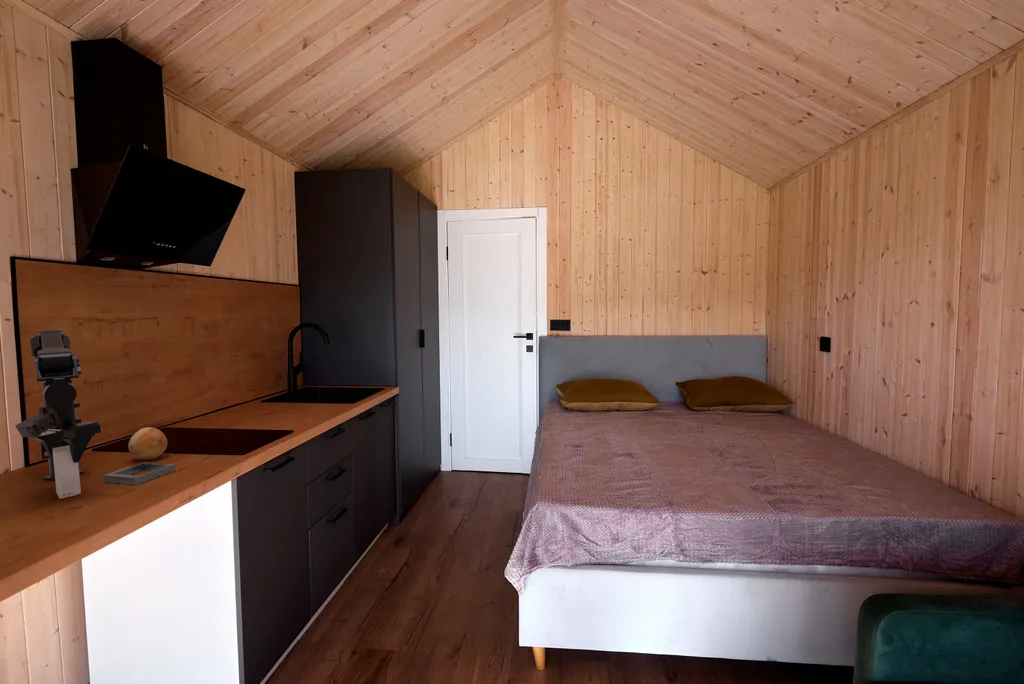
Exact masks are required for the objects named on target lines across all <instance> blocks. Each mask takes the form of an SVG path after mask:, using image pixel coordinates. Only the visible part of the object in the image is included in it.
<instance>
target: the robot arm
mask: <svg viewBox="0 0 1024 684" xmlns="http://www.w3.org/2000/svg"><path fill="white" fill-rule="evenodd" d="M29 345H30V346H29V347H30V355H31V358H34V359H33V360H34V367H35V376H36V382H38V383H39V382H42V383H43V384H42V387H41V388H42V395H43V402H44V403H43V404H44V406H39V408H38V414H36V415H34V416H31V417H29V418H27V419H25V420H23V421H21V422H19V423H17V424H16V425H15V428H16V430H17V432H18V433H19V434H20V436H21V437H22V438H30V439H34V440H36V441H38V442H40V452H41V460H47V463H48V464H47V465H48V471H49V473H48V475H45V476H43V478H46V479H45V480H53V479H55V471H54V460H53V448H57V447H63V446H69V447H70V451H71V456H72V459H73V462H74V463H77V462H78V463H79V462H80V461H81V459H82V456H83V455H84V452H85V451H86V448H87V447H88V445H89V443H90V441H91V440H92V437H94V436H96V434H99V433H102V432H103V430H102V428H103V427H102V424H101V423H100V422H98V421H88V420H87V421H83V422H82V418H77V408H80V407H81V404H80V402H76V398H77V396H78V395H77V394H78V392H77V389H76V388H75V386H74V381H73V380H72V379H79V378H80V375H81V374H82V369H81V364H80V359H79V358H78V356H77V355H76V354H73V352H72V345H71V338H70V337H69V335H65V334H63V330H61V329H46V330H45V329H44V330H43V329H42V330H39V331H37V334H36V335H35V336H34V337H32V338H30V339H29ZM83 472H84V473H85V470H81V469H79V475H81V474H83ZM80 473H81V474H80ZM43 478H42V479H43Z"/></svg>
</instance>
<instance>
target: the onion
mask: <svg viewBox="0 0 1024 684" xmlns="http://www.w3.org/2000/svg"><path fill="white" fill-rule="evenodd" d="M167 447H168V439H167V437H166V435H165V433H164V432H162V431H161V430H160V429H157V428H155V427H143V428H141V429H139V430H138V431H136V432H135V433H134V434H132V436H131V438H130V440H129V441H128V450H129V452H130V454H131V455H132V456H133V457H134V458H136V459H137V460H155V459H157V458H158V457H160V456H161V455H162V454H163V453H164V452H165V450H166V449H167Z"/></svg>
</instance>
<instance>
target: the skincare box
mask: <svg viewBox="0 0 1024 684" xmlns="http://www.w3.org/2000/svg"><path fill="white" fill-rule="evenodd" d="M53 460H54V471H55V481H54V482H55V491H56V494H57V497H58V499H60V500H61V499H65V498H69V497H70V498H71V497H74V496H79V495H81V494H82V489H81V480H80V474H79V470H80V468H79V462H77V463H74V462H73V459H72V456H71V451H70V447H69V446H63V447H57V448H53ZM78 494H79V495H78Z"/></svg>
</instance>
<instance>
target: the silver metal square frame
mask: <svg viewBox="0 0 1024 684" xmlns="http://www.w3.org/2000/svg"><path fill="white" fill-rule="evenodd" d="M141 470H152V471H147V472H146V471H145V472H144V473H141V474H138V475H134V474H132V473H135V472H138V471H141ZM174 470H175V471H176V464H175V463H167V462H166V463H163V462H153V461H151V462H150V461H142V462H140V463H136V464H134V465H130V466H127V467H124V468H121V469H118V470H115V471H112V472H109V473H106V474H103V475H102V476H103V477H102V478H103V482H104V483H105V482H111V483H110V484H116V483H121V484H120V485H127V484H135V485H134V486H138V485H137V484H139V485H141V484H140V483H142V482H144V483H146V482H145V481H147V482H149V481H148V480H150V479H152V480H154V479H153V478H155V479H157V478H156V477H158V476H160V477H162V476H161V475H163V474H166V473H169V472H171V471H174ZM175 471H174V472H175ZM141 472H142V471H141ZM138 473H139V472H138ZM171 473H172V472H171ZM130 474H132V475H130ZM135 474H136V473H135ZM169 474H170V473H169ZM166 475H167V474H166ZM163 476H164V475H163ZM158 478H159V477H158ZM150 481H151V480H150ZM142 484H143V483H142Z"/></svg>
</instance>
